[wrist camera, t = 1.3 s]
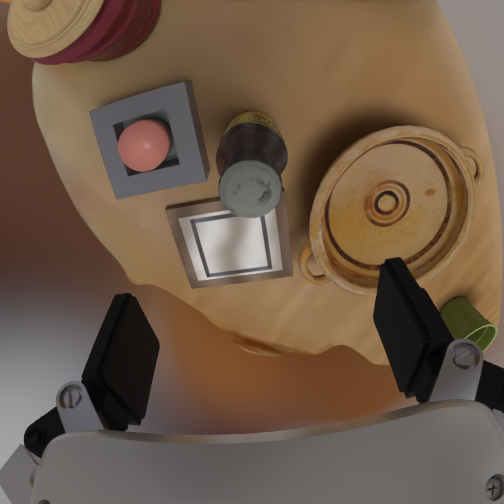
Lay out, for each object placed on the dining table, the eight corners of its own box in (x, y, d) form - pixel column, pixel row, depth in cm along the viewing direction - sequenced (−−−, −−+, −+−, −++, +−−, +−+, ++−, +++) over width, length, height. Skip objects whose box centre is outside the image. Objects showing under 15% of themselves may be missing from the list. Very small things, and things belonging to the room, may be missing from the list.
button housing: (191, 80, 31) (184, 81, 28) (210, 169, 38) (206, 180, 35) (103, 106, 32) (89, 111, 29) (126, 187, 39) (116, 199, 35)
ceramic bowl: (333, 295, 51) (344, 330, 44) (246, 188, 40) (246, 216, 33) (473, 207, 41) (499, 232, 34) (425, 75, 30) (460, 81, 23)
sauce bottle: (286, 141, 36) (322, 213, 20) (244, 165, 38) (241, 255, 21) (259, 98, 33) (272, 127, 16) (215, 124, 35) (184, 181, 18)
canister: (62, 4, 23) (-28, -6, 8) (148, -43, 21) (86, -97, 6) (85, 78, 30) (-6, 100, 15) (175, 34, 28) (117, 11, 13)
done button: (166, 112, 31) (159, 116, 29) (177, 157, 34) (171, 165, 32) (122, 124, 32) (112, 130, 29) (134, 167, 35) (126, 176, 32)
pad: (283, 187, 39) (284, 191, 38) (292, 271, 47) (293, 276, 46) (167, 206, 41) (165, 210, 39) (192, 283, 48) (191, 289, 47)
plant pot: (480, 283, 51) (506, 319, 41) (463, 321, 57) (483, 357, 48) (439, 291, 51) (464, 332, 42) (424, 330, 58) (442, 370, 48)
